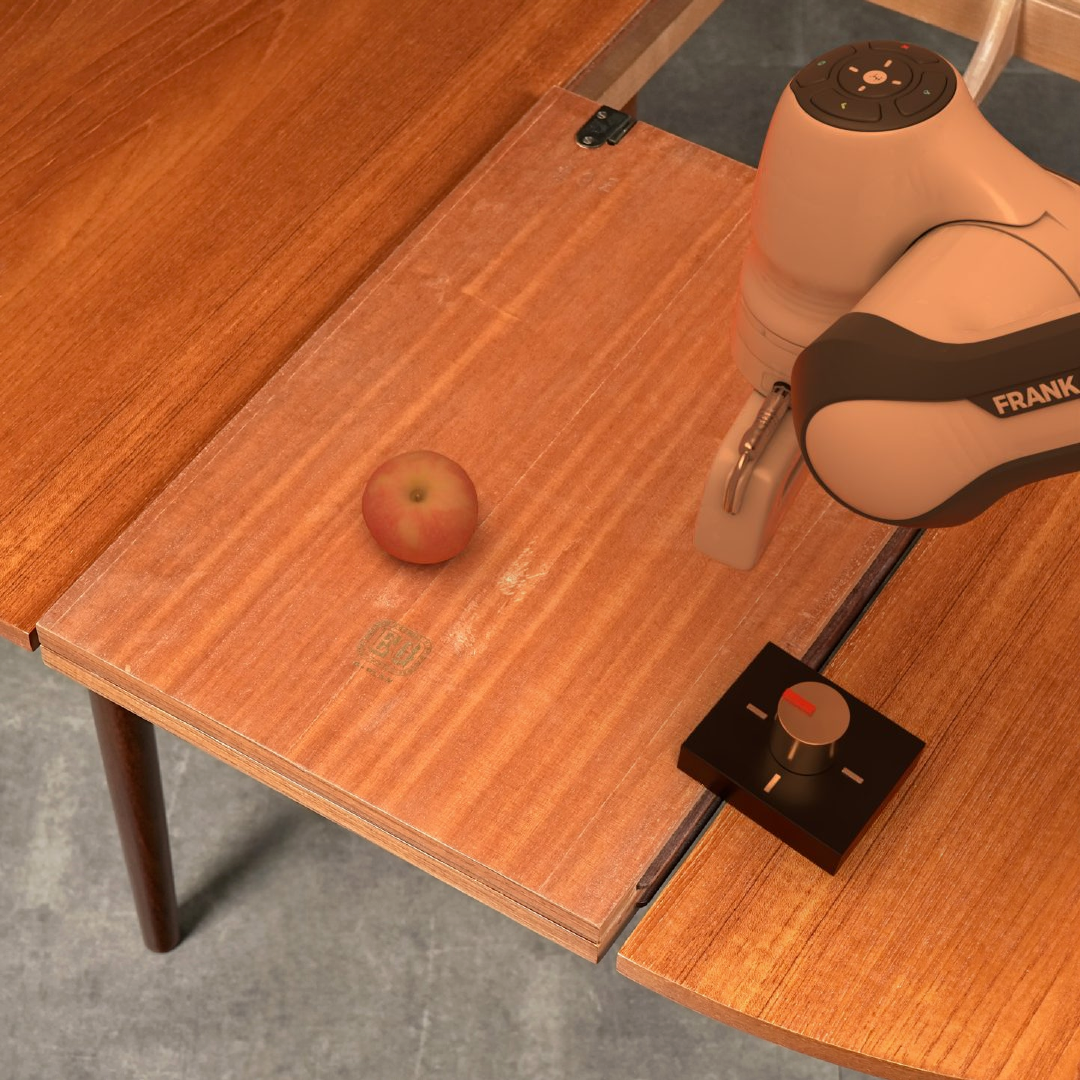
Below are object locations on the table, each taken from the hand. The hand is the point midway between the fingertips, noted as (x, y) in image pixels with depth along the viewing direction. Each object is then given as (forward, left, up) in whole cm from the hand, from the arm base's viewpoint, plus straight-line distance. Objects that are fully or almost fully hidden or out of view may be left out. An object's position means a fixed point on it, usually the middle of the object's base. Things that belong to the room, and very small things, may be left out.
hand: (783, 489), depth 97 cm
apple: (+23, +6, -20) cm, 31 cm away
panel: (-7, +4, -20) cm, 21 cm away
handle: (-7, +4, -17) cm, 19 cm away
